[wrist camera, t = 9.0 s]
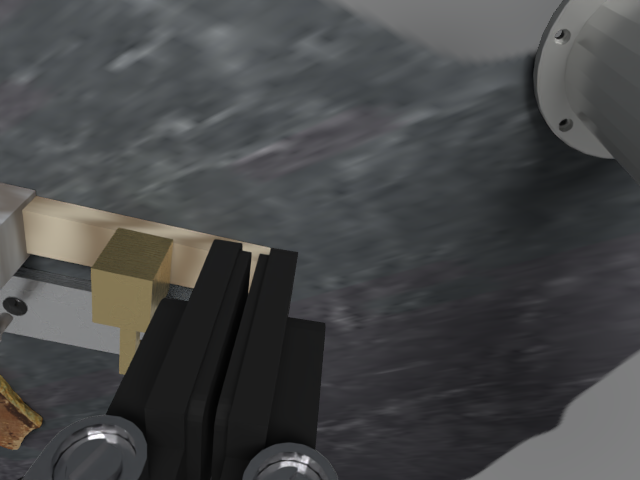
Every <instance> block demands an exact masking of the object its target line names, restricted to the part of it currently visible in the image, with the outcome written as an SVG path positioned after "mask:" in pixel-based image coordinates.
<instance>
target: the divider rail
mask: <svg viewBox="0 0 640 480" xmlns="http://www.w3.org/2000/svg"><path fill="white" fill-rule="evenodd" d="M118 227H119V228H124V229H128V230H133V231H137V232H142V233H147V234H151V235H156V236H160V237H165V238H169V239H173V250H172V262H171V273H170V283H171V284H175V285H180V286H185V287H190V288H194V286H195V284H196V281H197V279H198V277H199V274H200V272H201V269H202V267H203V264H204V262H205V260H206V257H207V255H208V252H209V250H210V247H211V245H212V243H213V241H214V239H219V240H226V241H232V242H238V243H242V245H243V251H248V252H252V258H251V269H250V280H249V290H250V286H251V283H252V279H253V275H254V272H255V268H256V264H257V261H258V257H259V254H260V253H261V254H267V255H269V253H270V249H271V248H268V247H264V246H259V245H255V244H250V243H246V242H241V241H237V240H232V239H228V238H223V237H219V236H214V235H210V234H205V233H201V232H196V231H192V230H187V229H183V228H178V227H173V226H169V225H164V224H160V223H155V222H151V221H146V220H142V219H137V218H133V217H128V216H124V215H119V214H115V213H110V212H106V211H101V210H97V209H92V208H88V207H83V206H79V205H74V204H70V203H65V202H61V201H56V200H52V199H47V198H43V197H38V196H36V191H35V190H31V189H27V188H22V187H18V186H13V185H9V184H4V183H0V290H1V289H2V288H3V287H4V285H5V284H6V283H7V282H8V281H9V280H10V278H11V277H12V276H13V275H14V274H15V272H16V271H17V270H18V269H19V268H20V267H21V265H22V264H23V263H24V262H25V261H26V260H27V258H28V257H29V256H30V255H31V254H34V255H38V256H43V257H48V258H53V259H57V260H62V261H67V262H72V263H76V264H81V265H86V266H90V267H92V266H93V264H94V263H95V261H96V260H97V258H98V257H99V255H100V254H101V252H102V251H103V250H104V248H105V247H106V245H107V244H108V242H109V241H110V239H111V238H112V236H113V235H114V233H115V232H116V230H117V229H118ZM249 290H248V293H249ZM12 320H13V317H12V315H10V314H9V313H5V312H4V313H2V314H1V315H0V342H1V340H2V339H1V335H2V333H3V332H4V331H5V329H6V328H7V327H8V326H9V324H10V323H11V322H12Z"/></svg>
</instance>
